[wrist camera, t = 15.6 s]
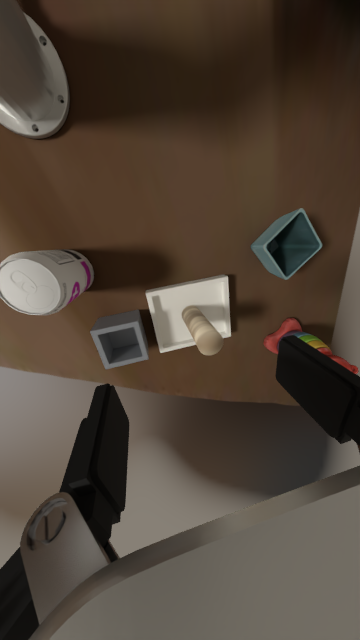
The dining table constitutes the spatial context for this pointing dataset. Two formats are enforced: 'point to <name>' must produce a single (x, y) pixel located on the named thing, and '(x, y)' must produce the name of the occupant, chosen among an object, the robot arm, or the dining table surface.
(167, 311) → the white tray
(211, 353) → the birch peg
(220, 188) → the dining table surface
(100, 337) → the grey open box
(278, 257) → the flower pot
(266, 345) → the stacking bear
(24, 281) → the supplement can
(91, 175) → the dining table surface
